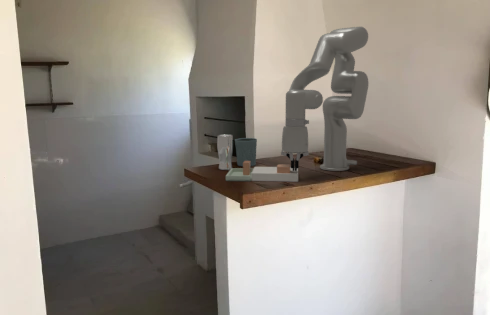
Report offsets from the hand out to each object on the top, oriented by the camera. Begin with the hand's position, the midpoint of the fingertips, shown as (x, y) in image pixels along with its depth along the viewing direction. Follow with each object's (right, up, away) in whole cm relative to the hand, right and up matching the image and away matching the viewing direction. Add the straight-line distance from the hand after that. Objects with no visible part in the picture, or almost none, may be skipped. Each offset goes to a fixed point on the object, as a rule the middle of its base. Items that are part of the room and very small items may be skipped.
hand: (294, 170), depth 164 cm
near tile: (-4, -1, +1) cm, 4 cm away
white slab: (-7, -3, +5) cm, 9 cm away
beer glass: (-28, 0, +23) cm, 36 cm away
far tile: (-17, +1, +9) cm, 19 cm away
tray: (-21, -3, +6) cm, 22 cm away
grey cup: (-19, +1, +32) cm, 37 cm away
